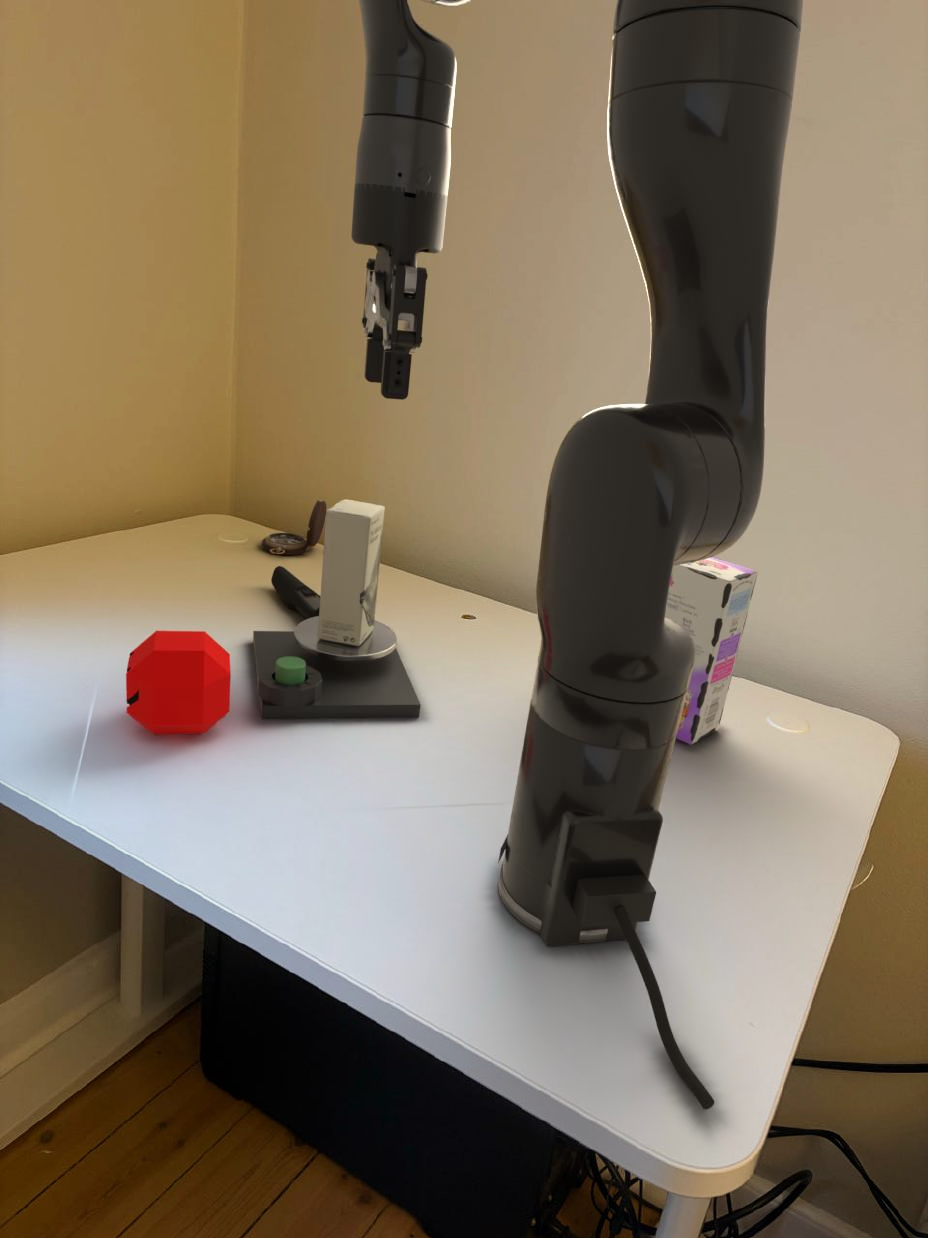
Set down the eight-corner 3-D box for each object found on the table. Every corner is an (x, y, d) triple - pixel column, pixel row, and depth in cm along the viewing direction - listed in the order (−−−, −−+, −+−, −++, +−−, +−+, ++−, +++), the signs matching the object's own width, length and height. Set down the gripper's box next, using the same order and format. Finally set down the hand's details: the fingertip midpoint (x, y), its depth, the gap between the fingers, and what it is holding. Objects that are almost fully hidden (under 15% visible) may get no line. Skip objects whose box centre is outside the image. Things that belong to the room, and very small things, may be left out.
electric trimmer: (293, 588, 110) (294, 563, 108) (349, 637, 98) (351, 610, 97) (263, 590, 108) (264, 565, 106) (316, 642, 96) (318, 614, 95)
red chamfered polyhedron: (132, 701, 80) (131, 620, 77) (227, 700, 82) (229, 621, 79) (124, 748, 73) (123, 661, 70) (229, 746, 75) (231, 662, 72)
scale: (419, 719, 83) (423, 690, 82) (258, 721, 79) (260, 691, 78) (388, 644, 97) (390, 618, 96) (250, 643, 93) (251, 616, 92)
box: (359, 649, 87) (371, 518, 82) (315, 640, 87) (324, 509, 83) (375, 629, 92) (387, 504, 87) (333, 620, 92) (342, 496, 88)
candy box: (720, 730, 89) (762, 570, 82) (690, 748, 84) (731, 581, 78) (604, 676, 97) (633, 526, 91) (570, 690, 93) (599, 534, 86)
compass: (269, 538, 125) (271, 486, 122) (326, 547, 124) (329, 495, 122) (250, 556, 117) (252, 501, 115) (311, 565, 117) (314, 510, 114)
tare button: (306, 686, 81) (307, 668, 80) (276, 687, 80) (277, 668, 79) (303, 673, 83) (304, 656, 82) (274, 673, 82) (274, 655, 81)
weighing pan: (405, 662, 87) (405, 656, 87) (298, 661, 84) (298, 655, 84) (386, 620, 96) (387, 614, 96) (289, 618, 93) (289, 613, 93)
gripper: (343, 182, 79) (331, 374, 85) (370, 175, 67) (354, 400, 73) (427, 194, 81) (410, 381, 87) (469, 189, 69) (445, 407, 75)
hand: (384, 389), depth 80 cm, fingers open, 8 cm apart
